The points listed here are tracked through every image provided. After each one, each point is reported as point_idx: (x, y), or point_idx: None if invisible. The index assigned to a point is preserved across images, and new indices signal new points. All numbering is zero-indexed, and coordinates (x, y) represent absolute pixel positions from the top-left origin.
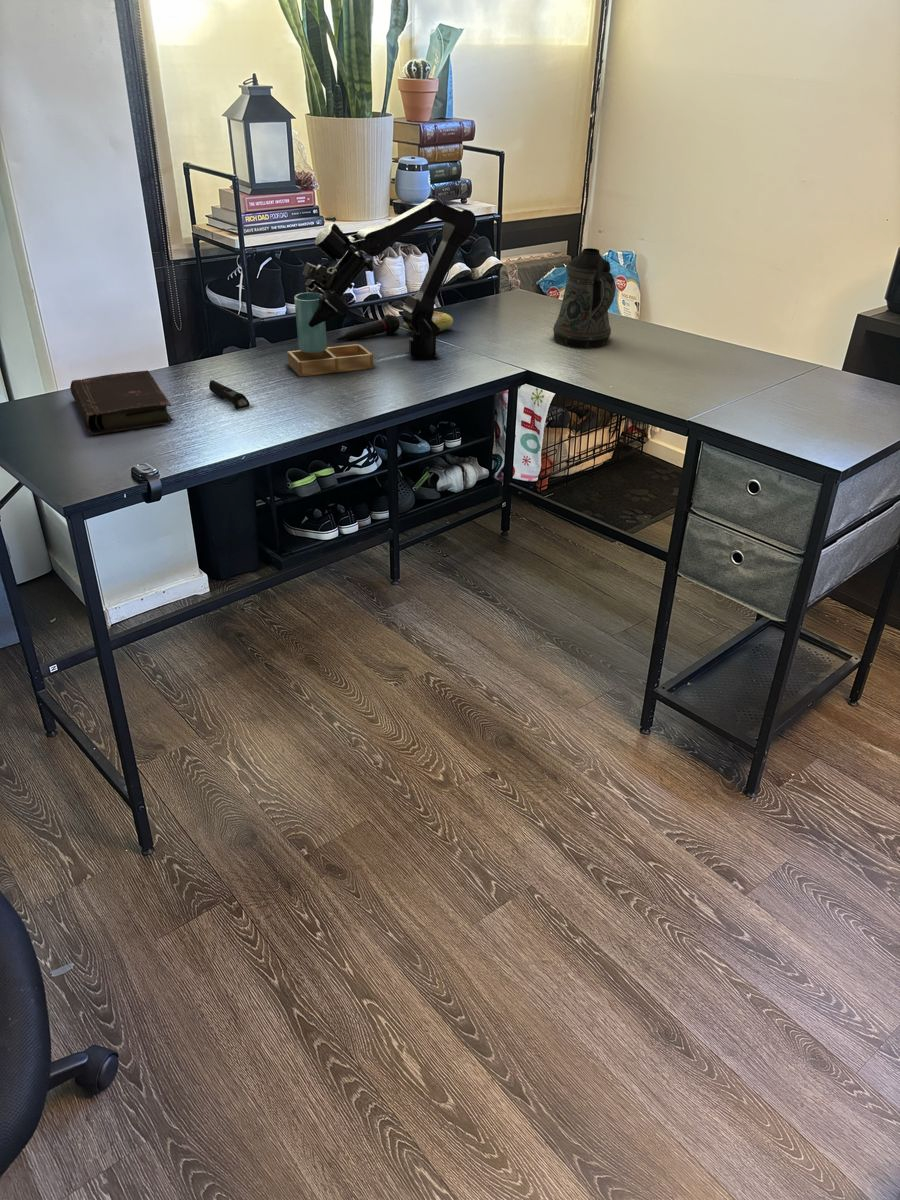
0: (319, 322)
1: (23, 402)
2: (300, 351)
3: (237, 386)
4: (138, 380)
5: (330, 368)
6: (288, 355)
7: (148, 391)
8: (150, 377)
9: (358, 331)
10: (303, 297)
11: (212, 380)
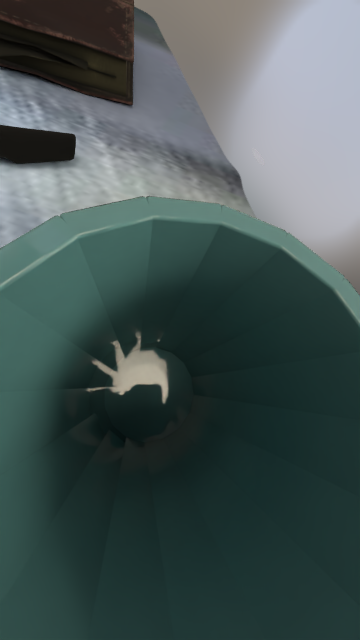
0: None
1: (150, 21)
2: None
3: (88, 202)
4: (84, 30)
5: None
6: None
7: (2, 2)
8: (89, 43)
9: None
10: (330, 370)
11: (70, 134)
